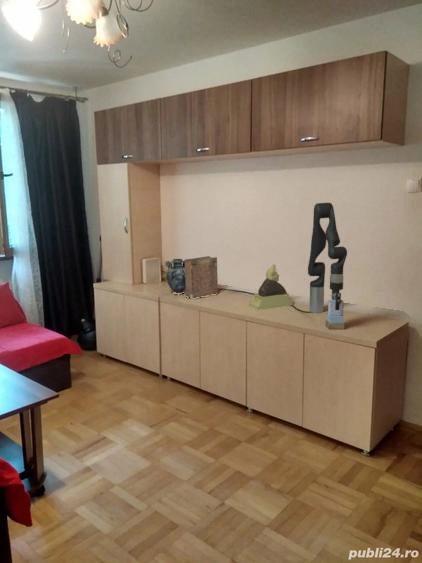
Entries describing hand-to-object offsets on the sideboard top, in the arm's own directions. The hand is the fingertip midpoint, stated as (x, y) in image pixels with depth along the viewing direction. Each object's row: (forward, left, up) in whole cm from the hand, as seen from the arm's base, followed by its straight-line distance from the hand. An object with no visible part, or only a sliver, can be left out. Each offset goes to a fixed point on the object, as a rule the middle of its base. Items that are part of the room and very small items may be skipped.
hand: (335, 308), depth 268 cm
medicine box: (0, 0, -4) cm, 4 cm away
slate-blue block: (0, 0, -8) cm, 8 cm away
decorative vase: (-96, -106, -12) cm, 143 cm away
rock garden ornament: (-53, -34, -12) cm, 65 cm away
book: (-86, -86, -12) cm, 122 cm away
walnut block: (0, 0, -12) cm, 12 cm away
